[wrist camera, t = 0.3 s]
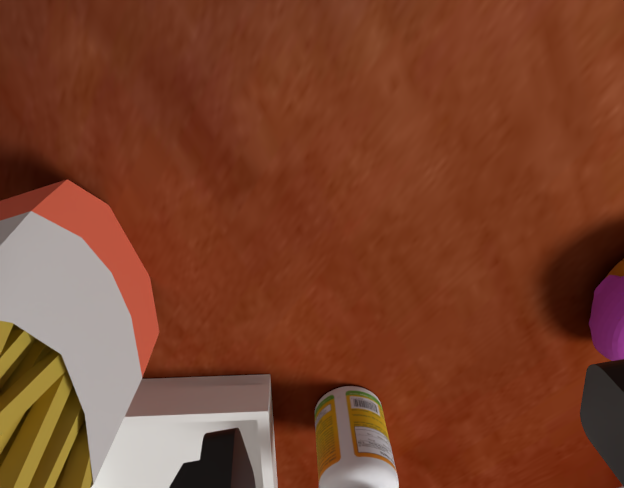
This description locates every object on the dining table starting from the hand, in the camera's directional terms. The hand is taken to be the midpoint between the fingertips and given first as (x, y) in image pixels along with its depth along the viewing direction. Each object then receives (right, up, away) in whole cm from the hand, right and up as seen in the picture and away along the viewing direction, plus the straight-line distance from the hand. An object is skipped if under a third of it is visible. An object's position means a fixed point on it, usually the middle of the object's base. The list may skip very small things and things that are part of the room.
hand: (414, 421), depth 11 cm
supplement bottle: (0, -9, +27) cm, 28 cm away
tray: (-13, -13, +28) cm, 34 cm away
